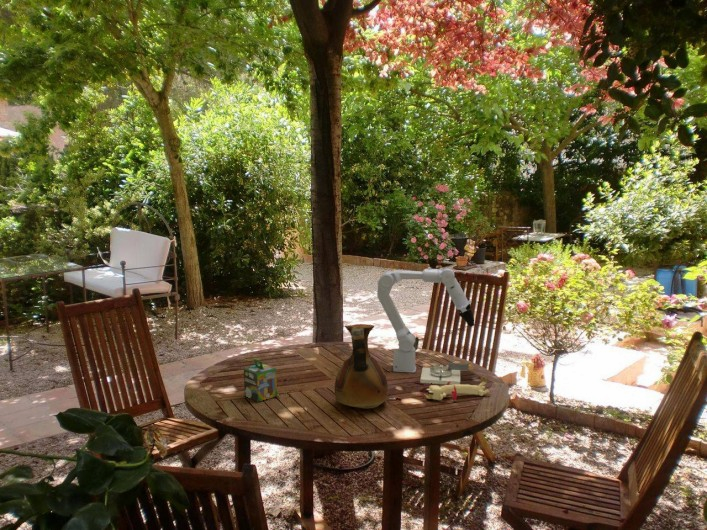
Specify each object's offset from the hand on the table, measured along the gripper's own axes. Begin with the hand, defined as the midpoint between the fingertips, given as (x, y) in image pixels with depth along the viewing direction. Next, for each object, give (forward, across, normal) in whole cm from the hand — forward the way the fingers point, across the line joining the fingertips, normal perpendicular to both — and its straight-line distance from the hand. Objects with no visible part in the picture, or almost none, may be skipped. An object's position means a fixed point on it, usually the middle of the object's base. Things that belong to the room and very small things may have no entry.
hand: (472, 323), depth 254 cm
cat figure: (+18, -28, +16) cm, 37 cm away
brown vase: (+1, -42, +46) cm, 63 cm away
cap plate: (+14, -6, +22) cm, 26 cm away
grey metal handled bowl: (+14, -6, +17) cm, 23 cm away
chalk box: (-18, -42, +81) cm, 92 cm away
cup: (+6, +26, +35) cm, 43 cm away
